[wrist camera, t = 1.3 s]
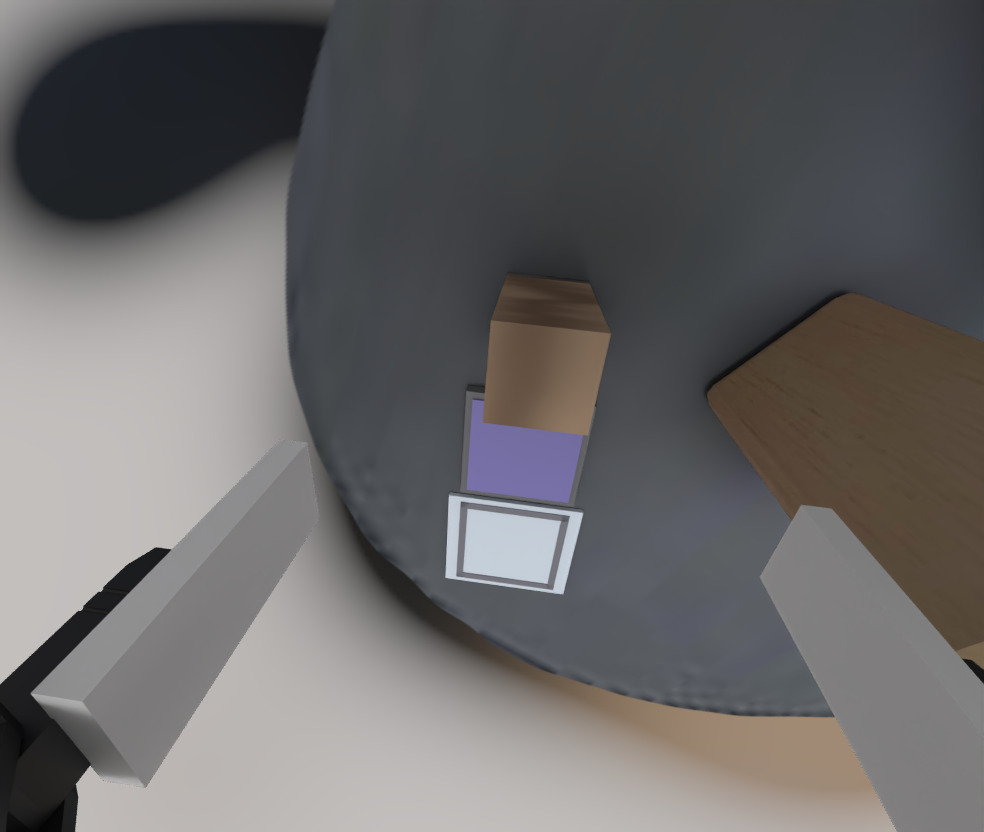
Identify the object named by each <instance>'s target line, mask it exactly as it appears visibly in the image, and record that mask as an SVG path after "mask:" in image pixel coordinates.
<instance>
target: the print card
mask: <svg viewBox="0 0 984 832" xmlns="http://www.w3.org/2000/svg"><path fill="white" fill-rule="evenodd" d="M582 516H583V510H582V509H574V508H567V507H559V506H552V505H544V504H536V503H529V502H521V501H514V500H506V499H498V498H491V497H483V496H476V495H468V494H460V493H453V492H450V494H449V509H448V533H447V557H446V578H451V579H458V580H465V581H472V582H479V583H486V584H493V585H501V586H508V587H515V588H522V589H529V590H536V591H543V592H550V593H557V594H563V592H564V588H565V584H566V580H567V576H568V572H569V568H570V564H571V560H572V556H573V552H574V548H575V544H576V540H577V536H578V532H579V528H580V524H581V520H582Z"/></svg>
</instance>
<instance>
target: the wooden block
mask: <svg viewBox="0 0 984 832" xmlns="http://www.w3.org/2000/svg"><path fill="white" fill-rule="evenodd" d="M707 398H708V402H709V406H710V408H711V409H712V410H713V412H714V413H715V415H716V416H717V417H718V419H719V420H720V422H721V423H722V424H723V426H724V427H725V428H726V430H727V431H728V433H729V434H730V435H731V437H732V438H733V440H734V441H735V442H736V444H737V445H738V447H739V448H740V449H741V451H742V452H743V454H744V455H745V456H746V458H747V459H748V461H749V462H750V463H751V465H752V466H753V468H754V469H755V470H756V472H757V473H758V475H759V476H760V477H761V479H762V480H763V481H764V483H765V484H766V486H767V487H768V488H769V490H770V491H771V493H772V494H773V495H774V497H775V498H776V500H777V501H778V502H779V504H780V505H781V507H782V508H783V509H784V511H785V512H786V514H787V515H788V516H789V518H790V519H791V521H792V520H793V518H794V517H795V515H796V513H797V511H798V510H799V508H800V506H801V505H807V506H815V507H823V508H831V509H833V511H834V512H835V513H836V514H837V515H838V516H839V518H840V519H841V520H842V521H843V522H844V523H845V524H846V526H847V527H848V528H849V529H850V530H851V531H852V533H853V534H854V535H855V536H856V537H857V538H858V539H859V541H860V542H861V543H862V544H863V545H864V546H865V548H866V549H867V550H868V551H869V552H870V553H871V554H872V556H873V557H874V558H875V559H876V560H877V561H878V563H879V564H880V565H881V566H882V567H883V568H884V570H885V571H886V572H887V573H888V574H889V575H890V576H891V578H892V579H893V580H894V581H895V582H896V583H897V585H898V586H899V587H900V588H901V589H902V590H903V591H904V593H905V594H906V595H907V596H908V597H909V598H910V600H911V601H912V602H913V603H914V604H915V605H916V607H917V608H918V609H919V610H920V611H921V612H922V613H923V615H924V616H925V617H926V618H927V619H928V620H929V622H930V623H931V624H932V625H933V626H934V627H935V628H936V630H937V631H938V632H939V633H940V634H941V635H942V637H943V638H944V639H945V640H946V641H947V642H948V643H949V645H950V646H951V647H952V648H953V649H954V650H955V652H956V653H957V654H958V655H959V656H960V657H961V658H962V659H969V660H972V661H974V662H975V663H976V664H977V665H979V666H980V667H981V668H982V669H983V670H984V342H983V341H980V340H978V339H975V338H972V337H970V336H967V335H965V334H962V333H959V332H957V331H954V330H952V329H949V328H946V327H944V326H941V325H938V324H936V323H933V322H931V321H928V320H925V319H923V318H920V317H918V316H915V315H912V314H910V313H907V312H904V311H902V310H899V309H897V308H894V307H891V306H889V305H886V304H884V303H881V302H878V301H876V300H873V299H870V298H868V297H865V296H863V295H860V294H857V293H847V294H845V295H842V296H840V297H837V298H835V299H833V300H832V301H831V302H829V303H828V304H826V305H825V306H824V307H822V308H821V309H819V310H818V311H817V312H815V313H814V314H812V315H811V316H810V317H808V318H807V319H805V320H804V321H803V322H801V323H800V324H798V325H797V326H796V327H794V328H793V329H791V330H790V331H789V332H787V333H786V334H784V335H783V336H782V337H780V338H779V339H777V340H776V341H774V342H773V343H772V344H770V345H769V346H767V347H766V348H765V349H763V350H762V351H760V352H759V353H758V354H756V355H755V356H753V357H752V358H751V359H749V360H748V361H746V362H745V363H744V364H742V365H741V366H739V367H738V368H737V369H735V370H734V371H732V372H731V373H730V374H728V375H727V376H725V377H724V378H723V379H721V380H720V381H718V382H717V383H716V384H714V385H713V386H712V387H711V389H710V390H709V391H708V393H707Z"/></svg>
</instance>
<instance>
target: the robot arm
mask: <svg viewBox="0 0 984 832" xmlns="http://www.w3.org/2000/svg"><path fill="white" fill-rule="evenodd" d="M318 520H319V512H318V506H317V500H316V494H315V487H314V481H313V475H312V469H311V462H310V456H309V450H308V444H307V443H304V442H295V441H288V440H279V441H278V442H277V443H276V444H275V445H274V446H273V447H272V448H271V449H270V450H269V452H267V453H266V455H265V456H264V457H262V459H261V460H260V461H259V462H258V463H257V464H256V465H255V466H254V467H253V468H252V469H251V470H250V471H249V472H248V473H247V474H246V475H245V476H244V477H243V478H242V479H241V480H240V481H239V482H238V483H237V484H236V485H235V486H234V487H233V488H232V489H231V490H230V491H229V492H228V493H227V494H226V495H225V496H224V497H223V498H222V499H221V500H220V501H219V502H218V503H217V504H216V506H214V507H213V508H212V509H211V510H210V511H209V512H208V513H207V514H206V516H205V517H204V518H203V519H202V520H201V521H200V522H199V523H198V524H197V525H196V526H195V527H194V528H193V529H192V530H191V531H190V532H189V533H188V534H187V535H186V536H185V537H184V538H183V539H182V540H181V541H180V542H179V543H178V544H177V545H176V546H175V547H174V548H173V549H172V550H171V549H164V548H154V549H152V550H151V551H150V552H147V553H146V554H145V555H143V556H141V557H139V558H138V559H136V560H134V561H133V562H131V563H129V564H128V565H126V566H125V567H124V568H123V569H122V570H121V571H120V572H119V573H118V574H117V575H116V576H115V577H114V578H113V579H112V580H110V581H109V582H108V583H107V584H106V585H105V586H104V587H103V590H102V591H101V592H98V593H97V594H96V595H95V596H93V597H92V598H91V599H90V600H89V601H88V602H87V603H86V604H85V605H84V606H83V610H81V611H78V612H76V614H74V615H73V616H72V617H71V618H70V619H69V620H68V621H67V622H66V623H65V624H64V625H63V626H62V627H61V628H60V629H59V630H57V631H56V632H55V633H54V634H53V635H52V636H51V637H50V638H49V639H48V640H47V641H46V642H45V643H44V644H43V645H41V646H40V647H39V648H38V649H37V650H36V651H35V652H34V653H33V654H32V655H31V656H30V657H29V658H28V659H27V660H26V661H25V662H23V664H21V665H20V666H19V667H18V668H17V669H16V670H15V671H14V672H13V673H12V674H11V675H10V676H9V677H8V678H7V679H5V680H4V681H3V682H2V683H1V684H0V832H75V825H76V815H77V805H78V794H77V788H76V783H77V782H78V781H79V779H80V778H81V776H82V775H83V774H84V773H85V771H86V770H87V768H88V767H89V766H91V767H92V768H93V769H94V771H95V772H96V773H97V774H98V775H99V776H100V778H101V779H102V780H103V781H107V782H113V783H119V784H125V785H131V786H136V787H143V788H146V787H147V785H148V783H149V782H150V780H151V779H152V777H153V775H154V774H155V772H156V771H157V770H158V768H159V766H160V765H161V763H162V762H163V760H164V759H165V757H166V756H167V754H168V752H169V751H170V749H171V748H172V746H173V744H174V743H175V742H176V740H177V738H178V737H179V735H180V734H181V732H182V731H183V729H184V728H185V726H186V725H187V723H188V721H189V720H190V718H191V717H192V715H193V714H194V712H195V711H196V709H197V707H198V706H199V704H200V703H201V701H202V700H203V698H204V697H205V695H206V694H207V692H208V690H209V689H210V687H211V686H212V684H213V683H214V681H215V679H216V678H217V677H218V675H219V673H220V672H221V670H222V669H223V667H224V666H225V664H226V662H227V661H228V659H229V658H230V656H231V655H232V653H233V652H234V650H235V649H236V647H237V645H238V644H239V642H240V641H241V639H242V638H243V636H244V635H245V633H246V632H247V630H248V628H249V627H250V625H251V624H252V622H253V621H254V619H255V617H256V616H257V614H258V613H259V611H260V610H261V608H262V607H263V605H264V604H265V602H266V601H267V599H268V597H269V596H270V594H271V593H272V591H273V590H274V588H275V587H276V585H277V583H278V582H279V580H280V579H281V577H282V576H283V574H284V573H285V571H286V569H287V568H288V566H289V565H290V563H291V562H292V560H293V559H294V557H295V556H296V554H297V552H298V551H299V549H300V548H301V546H302V545H303V543H304V542H305V540H306V538H307V537H308V535H309V534H310V532H311V531H312V529H313V528H314V526H315V524H316V522H317V521H318ZM760 579H761V580H762V582H763V584H764V586H765V588H766V590H767V592H768V593H769V595H770V597H771V599H772V601H773V603H774V605H775V606H776V608H777V610H778V612H779V614H780V616H781V617H782V619H783V621H784V623H785V625H786V627H787V629H788V630H789V632H790V634H791V636H792V638H793V640H794V642H795V643H796V645H797V647H798V649H799V651H800V653H801V655H802V656H803V658H804V660H805V662H806V664H807V666H808V668H809V669H810V671H811V673H812V675H813V677H814V679H815V680H816V682H817V684H818V686H819V688H820V690H821V692H822V693H823V695H824V697H825V699H826V701H827V703H828V705H829V706H830V708H831V710H832V712H833V714H834V716H835V718H836V719H837V721H838V723H839V725H840V727H841V729H842V730H843V732H844V734H845V736H846V738H847V740H848V741H849V743H850V745H851V747H852V749H853V751H854V753H855V755H856V756H857V758H858V760H859V762H860V764H861V766H862V768H863V769H864V771H865V773H866V775H867V777H868V779H869V780H870V782H871V784H872V786H873V788H874V790H875V792H876V793H877V795H878V797H879V799H880V801H881V803H882V804H883V806H884V808H885V810H886V812H887V814H888V816H889V817H890V819H891V821H892V823H893V825H894V827H895V829H896V830H897V832H984V670H983V669H982V668H981V667H980V666H979V665H977V664H976V663H975V662H974V661H972V660H969V659H962V658H961V657H960V656H959V655H958V654H957V653H956V652H955V650H954V649H953V648H952V647H951V646H950V645H949V643H948V642H947V641H946V640H945V639H944V638H943V637H942V635H941V634H940V633H939V632H938V631H937V630H936V628H935V627H934V626H933V625H932V624H931V623H930V622H929V620H928V619H927V618H926V617H925V616H924V615H923V613H922V612H921V611H920V610H919V609H918V608H917V607H916V605H915V604H914V603H913V602H912V601H911V600H910V598H909V597H908V596H907V595H906V594H905V593H904V591H903V590H902V589H901V588H900V587H899V586H898V585H897V583H896V582H895V581H894V580H893V579H892V578H891V576H890V575H889V574H888V573H887V572H886V571H885V570H884V568H883V567H882V566H881V565H880V564H879V563H878V561H877V560H876V559H875V558H874V557H873V556H872V554H871V553H870V552H869V551H868V550H867V549H866V548H865V546H864V545H863V544H862V543H861V542H860V541H859V539H858V538H857V537H856V536H855V535H854V534H853V533H852V531H851V530H850V529H849V528H848V527H847V526H846V524H845V523H844V522H843V521H842V520H841V519H840V518H839V516H838V515H837V514H836V513H835V512H834V511H833V509H831V508H823V507H815V506H807V505H801V506H800V508H799V510H798V511H797V513H796V515H795V517H794V518H793V520H792V522H791V524H790V525H789V527H788V529H787V531H786V532H785V534H784V536H783V538H782V539H781V541H780V543H779V545H778V546H777V548H776V550H775V552H774V553H773V555H772V557H771V559H770V560H769V562H768V564H767V565H766V567H765V569H764V571H763V572H762V574H761V576H760Z"/></svg>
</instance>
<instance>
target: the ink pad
mask: <svg viewBox="0 0 984 832" xmlns="http://www.w3.org/2000/svg"><path fill="white" fill-rule="evenodd" d="M484 399H485V387H481V386H472V385H468V388H467V391H466V406H465V423H464V440H463V457H462V474H461V491H460V492H464V493H471V494H479V495H487V496H494V497H502V498H509V499H517V500H525V501H532V502H540V503H547V504H555V505H563V506H570V507H574V503H575V498H576V494H577V490H578V485H579V481H580V477H581V472H582V468H583V464H584V459H585V455H586V451H587V446H588V442H589V438H590V434H591V429H592V425H593V421H594V416H595V412H596V408H597V406H596V402H595V406H594V411H593V415H592V420H591V424H590V428H589V433H588V436H587V435H578V434H570V433H562V432H554V431H546V430H538V429H530V428H522V427H514V426H505V425H497V424H489V423H483V411H484Z"/></svg>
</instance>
